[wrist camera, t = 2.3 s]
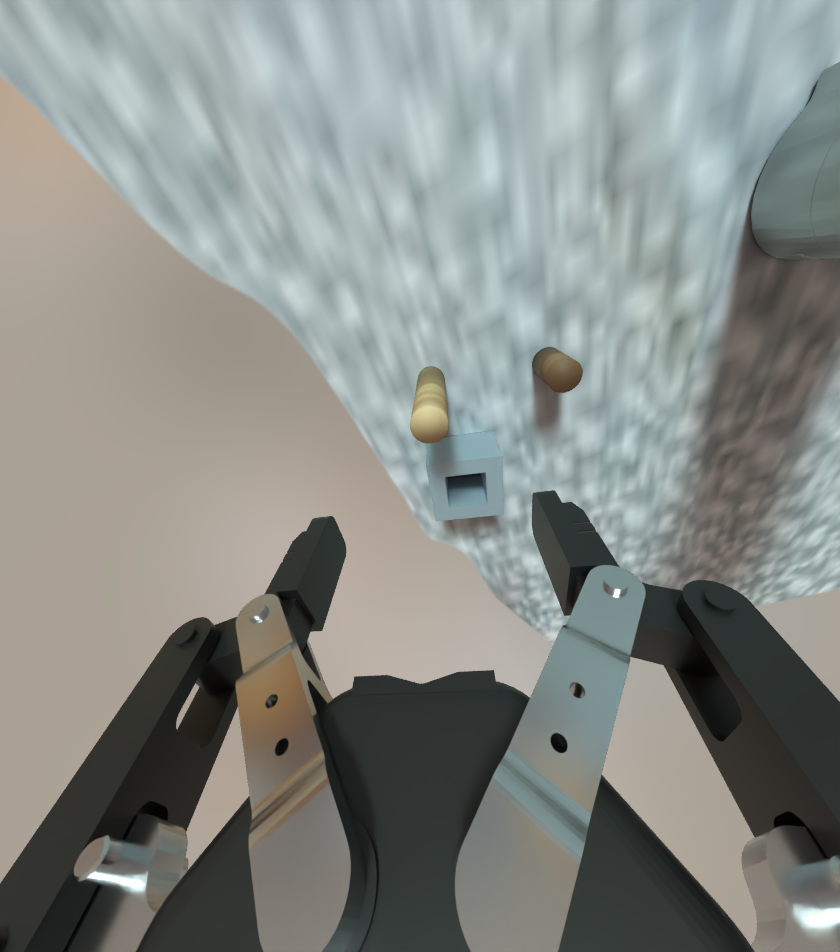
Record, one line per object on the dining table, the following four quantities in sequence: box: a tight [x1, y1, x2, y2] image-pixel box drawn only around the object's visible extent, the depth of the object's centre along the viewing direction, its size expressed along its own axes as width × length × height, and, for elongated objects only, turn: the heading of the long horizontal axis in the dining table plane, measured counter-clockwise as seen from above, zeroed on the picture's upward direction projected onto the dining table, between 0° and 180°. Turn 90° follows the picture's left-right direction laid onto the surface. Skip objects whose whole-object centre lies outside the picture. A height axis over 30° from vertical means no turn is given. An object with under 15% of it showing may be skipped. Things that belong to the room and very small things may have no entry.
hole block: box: [426, 431, 504, 521], centre depth 30 cm, size 6×6×5 cm
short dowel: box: [532, 347, 583, 393], centre depth 24 cm, size 2×2×4 cm
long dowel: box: [410, 367, 449, 444], centre depth 23 cm, size 2×2×10 cm
